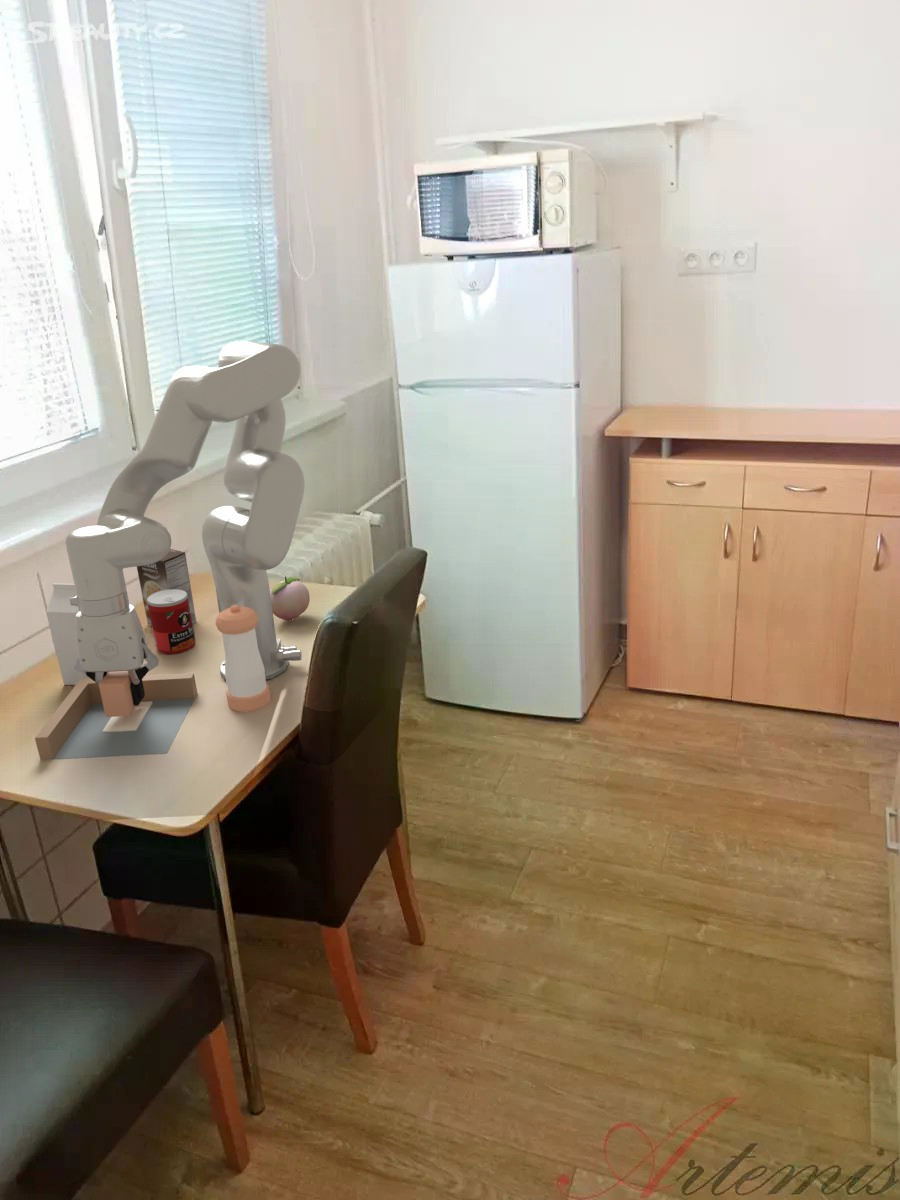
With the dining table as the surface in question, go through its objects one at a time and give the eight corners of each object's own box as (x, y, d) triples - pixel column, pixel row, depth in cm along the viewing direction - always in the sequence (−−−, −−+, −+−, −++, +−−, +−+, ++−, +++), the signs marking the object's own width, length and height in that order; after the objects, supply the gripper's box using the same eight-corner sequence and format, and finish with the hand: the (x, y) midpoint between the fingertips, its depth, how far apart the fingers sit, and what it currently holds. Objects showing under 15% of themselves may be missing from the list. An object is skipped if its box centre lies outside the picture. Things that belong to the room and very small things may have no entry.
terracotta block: (129, 715, 152) (123, 683, 149) (105, 717, 152) (98, 684, 149) (144, 692, 159) (138, 661, 157) (121, 694, 159) (114, 663, 157)
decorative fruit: (300, 631, 189) (294, 586, 185) (264, 628, 191) (258, 583, 187) (319, 613, 197) (314, 570, 193) (285, 610, 199) (279, 567, 196)
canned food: (175, 658, 180) (166, 606, 176) (147, 650, 184) (137, 599, 180) (204, 643, 186) (195, 592, 182) (176, 635, 190) (167, 586, 186)
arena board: (198, 698, 164) (193, 672, 162) (168, 759, 145) (162, 731, 143) (86, 704, 164) (80, 678, 162) (42, 766, 145) (34, 737, 143)
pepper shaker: (234, 697, 163) (218, 598, 156) (275, 696, 163) (261, 596, 156) (224, 718, 157) (207, 615, 149) (266, 716, 156) (251, 613, 149)
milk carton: (98, 687, 170) (76, 592, 163) (63, 685, 171) (41, 591, 164) (118, 669, 176) (98, 577, 169) (84, 668, 178) (64, 576, 171)
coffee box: (146, 625, 196) (132, 554, 190) (169, 614, 201) (156, 545, 195) (175, 633, 191) (162, 560, 185) (198, 622, 196) (186, 551, 190)
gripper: (43, 614, 145) (67, 716, 152) (149, 609, 145) (168, 711, 152) (61, 596, 152) (83, 694, 159) (162, 591, 152) (180, 689, 159)
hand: (124, 701), depth 155 cm, fingers closed on terracotta block, 4 cm apart
